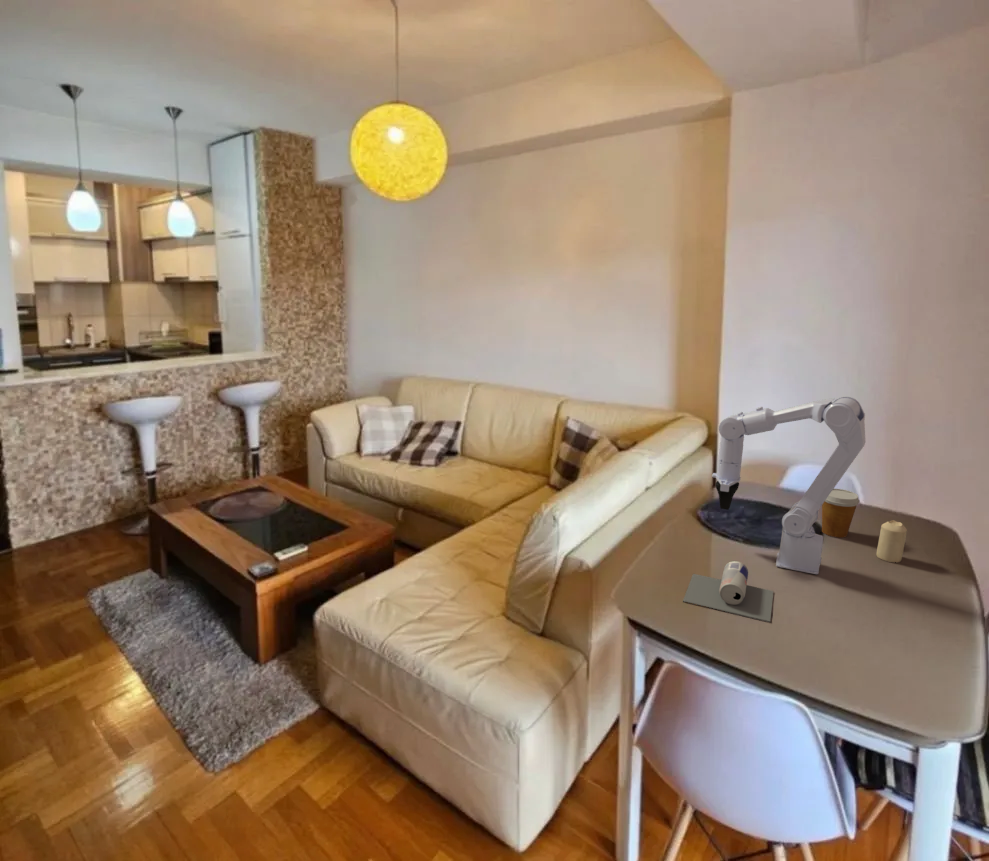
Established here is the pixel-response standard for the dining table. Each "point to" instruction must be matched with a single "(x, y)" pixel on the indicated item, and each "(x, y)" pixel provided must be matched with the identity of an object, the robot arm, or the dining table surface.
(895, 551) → the candle
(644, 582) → the dining table surface
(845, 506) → the disposable coffee cup
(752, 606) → the rubber mat
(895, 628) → the dining table surface
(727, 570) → the energy drink
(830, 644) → the dining table surface
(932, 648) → the dining table surface
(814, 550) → the robot arm
